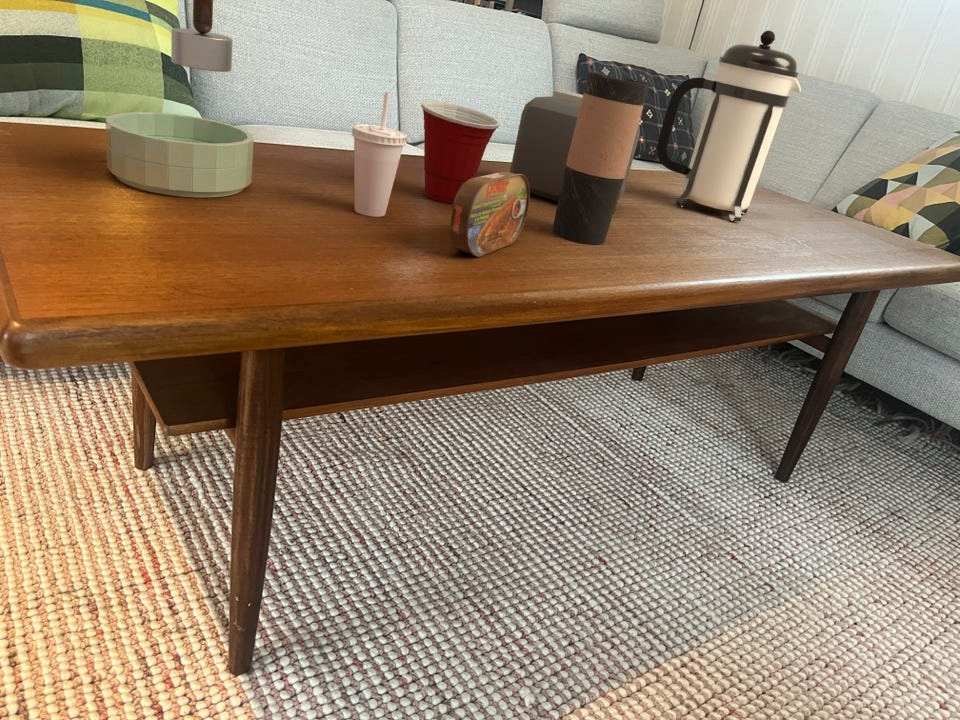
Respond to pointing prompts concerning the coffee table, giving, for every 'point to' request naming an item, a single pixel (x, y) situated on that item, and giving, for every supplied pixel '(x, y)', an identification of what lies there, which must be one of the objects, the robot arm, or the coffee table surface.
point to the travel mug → (598, 157)
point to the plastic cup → (453, 146)
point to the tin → (489, 212)
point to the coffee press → (733, 125)
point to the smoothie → (375, 164)
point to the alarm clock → (550, 142)
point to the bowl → (178, 154)
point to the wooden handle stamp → (201, 42)
